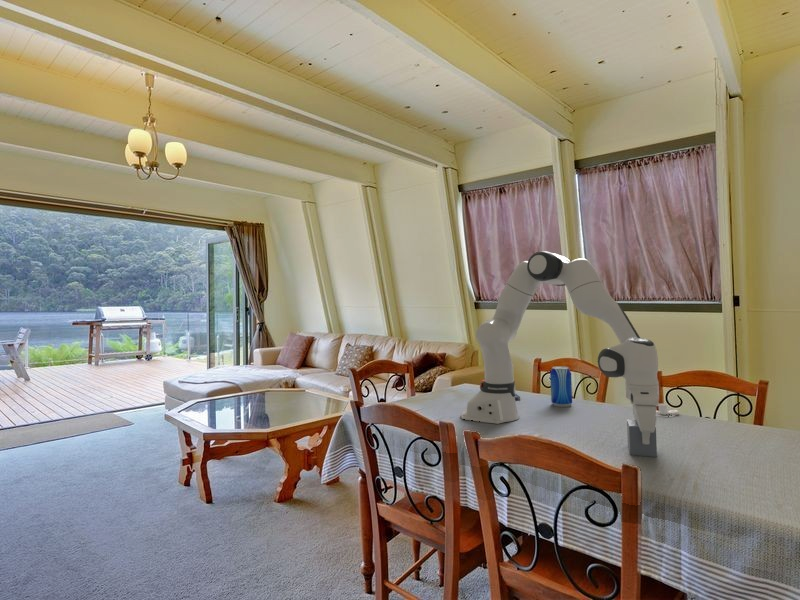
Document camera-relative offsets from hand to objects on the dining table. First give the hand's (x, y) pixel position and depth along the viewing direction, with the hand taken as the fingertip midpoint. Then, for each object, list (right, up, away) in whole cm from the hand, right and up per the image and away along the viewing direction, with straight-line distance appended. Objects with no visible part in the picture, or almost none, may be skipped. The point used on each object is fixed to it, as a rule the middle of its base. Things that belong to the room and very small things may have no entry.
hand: (643, 438), depth 137 cm
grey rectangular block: (0, -4, 0) cm, 4 cm away
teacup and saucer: (+28, -3, +35) cm, 45 cm away
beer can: (-4, -3, +58) cm, 58 cm away
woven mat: (-24, -5, +74) cm, 78 cm away
